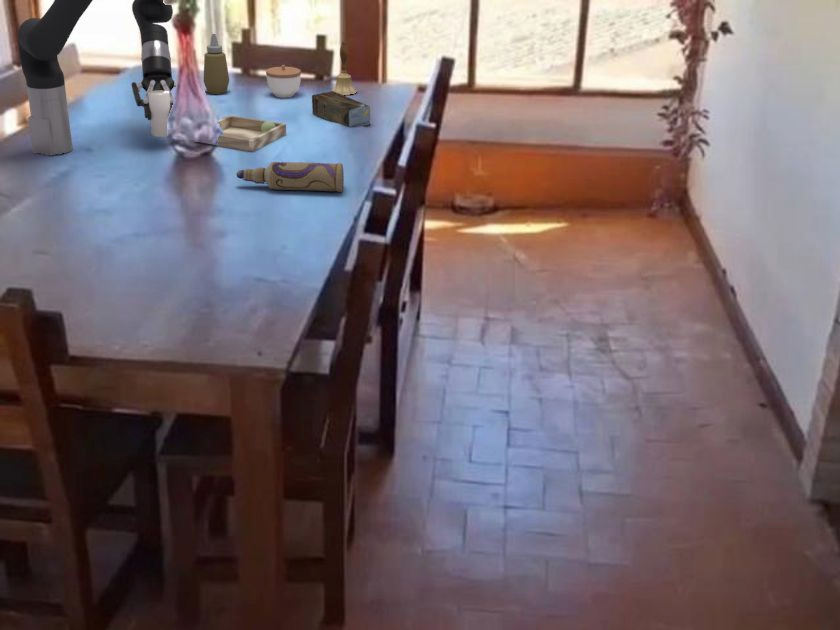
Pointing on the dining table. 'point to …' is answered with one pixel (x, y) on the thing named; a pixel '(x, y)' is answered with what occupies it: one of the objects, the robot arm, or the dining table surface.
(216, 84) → the squeeze bottle
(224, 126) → the tray
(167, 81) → the robot arm
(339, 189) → the decorative bottle
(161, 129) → the white dome-topped cylinder
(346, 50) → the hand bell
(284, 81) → the lidded jar
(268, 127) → the green ball
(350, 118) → the beverage carton
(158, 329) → the dining table surface
